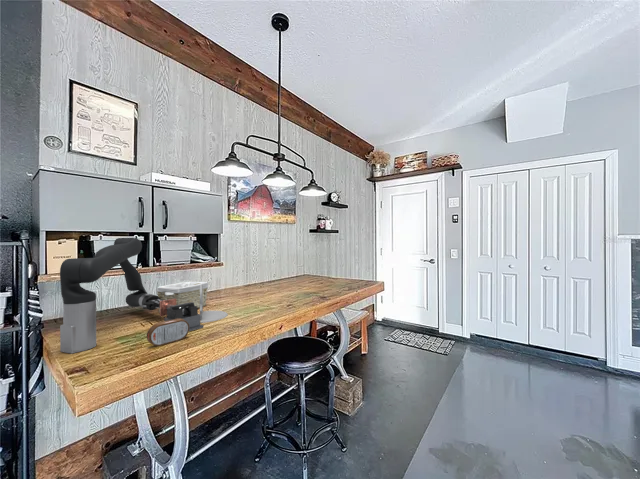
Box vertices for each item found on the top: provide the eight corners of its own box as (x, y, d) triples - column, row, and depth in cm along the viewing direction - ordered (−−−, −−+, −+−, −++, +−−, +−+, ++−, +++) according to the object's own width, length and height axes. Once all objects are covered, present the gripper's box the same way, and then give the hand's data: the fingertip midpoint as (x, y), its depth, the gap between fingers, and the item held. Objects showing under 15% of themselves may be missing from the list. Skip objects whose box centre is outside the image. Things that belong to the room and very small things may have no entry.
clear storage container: (188, 304, 174) (188, 280, 174) (209, 305, 169) (209, 281, 169) (155, 313, 151) (154, 286, 151) (178, 316, 146) (178, 288, 146)
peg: (159, 315, 129) (159, 300, 129) (175, 312, 135) (175, 298, 135) (175, 321, 120) (175, 305, 120) (191, 317, 125) (190, 302, 125)
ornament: (201, 312, 153) (201, 282, 153) (226, 309, 158) (226, 280, 158) (199, 323, 133) (199, 288, 133) (228, 320, 137) (228, 286, 137)
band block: (160, 331, 120) (160, 305, 121) (192, 323, 132) (192, 300, 132) (171, 336, 114) (171, 309, 114) (203, 327, 125) (203, 302, 125)
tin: (187, 336, 114) (186, 315, 114) (190, 337, 112) (190, 317, 112) (146, 347, 103) (146, 324, 103) (149, 349, 101) (149, 326, 101)
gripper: (134, 296, 139) (149, 300, 129) (162, 292, 150) (178, 296, 139) (135, 311, 139) (149, 316, 129) (162, 306, 150) (178, 311, 139)
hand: (164, 306), depth 134 cm, fingers closed
